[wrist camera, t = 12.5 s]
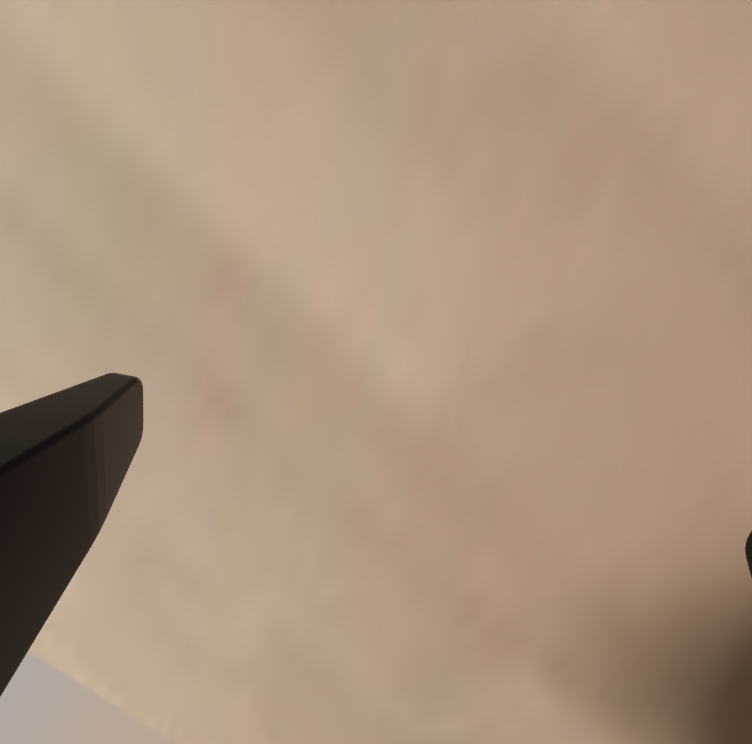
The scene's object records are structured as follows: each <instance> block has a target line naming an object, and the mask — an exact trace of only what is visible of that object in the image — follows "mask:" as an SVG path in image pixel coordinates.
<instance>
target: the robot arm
mask: <svg viewBox="0 0 752 744" xmlns="http://www.w3.org/2000/svg"><path fill="white" fill-rule="evenodd" d="M142 433H143V386H142V382H141V380H140V379H139V378H137V377H134V376H128V375H123V374H118V373H108V374H106V375H103V376H100V377H97V378H95V379H92V380H89V381H86V382H84V383H81V384H78V385H76V386H73V387H70V388H67V389H65V390H62V391H59V392H56V393H54V394H51V395H48V396H45V397H43V398H40V399H37V400H34V401H32V402H29V403H26V404H23V405H21V406H18V407H15V408H12V409H10V410H7V411H4V412H1V413H0V696H1V695H2V693H3V691H4V689H5V688H6V686H7V685H8V683H9V681H10V680H11V678H12V676H13V675H14V673H15V672H16V670H17V668H18V667H19V665H20V663H21V662H22V660H23V658H24V657H25V655H26V653H27V652H28V650H29V648H30V647H31V645H32V643H33V642H34V640H35V639H36V637H37V635H38V634H39V632H40V630H41V629H42V627H43V625H44V624H45V622H46V620H47V619H48V617H49V615H50V614H51V612H52V610H53V609H54V607H55V605H56V604H57V602H58V600H59V599H60V597H61V596H62V594H63V592H64V591H65V589H66V587H67V586H68V584H69V582H70V581H71V579H72V577H73V576H74V574H75V572H76V571H77V569H78V567H79V566H80V564H81V562H82V561H83V559H84V558H85V556H86V554H87V553H88V551H89V549H90V548H91V546H92V544H93V542H94V541H95V539H96V537H97V535H98V534H99V532H100V530H101V528H102V526H103V523H104V521H105V519H106V517H107V515H108V513H109V511H110V508H111V506H112V504H113V502H114V499H115V497H116V495H117V493H118V491H119V488H120V486H121V484H122V482H123V479H124V477H125V475H126V473H127V471H128V468H129V466H130V464H131V462H132V459H133V457H134V455H135V453H136V451H137V448H138V446H139V444H140V441H141V438H142ZM745 553H746V559H747V562H748V566H749V570H750V574H751V578H752V531H751V533H750V534H749V536H748V538H747V542H746V547H745Z"/></svg>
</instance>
